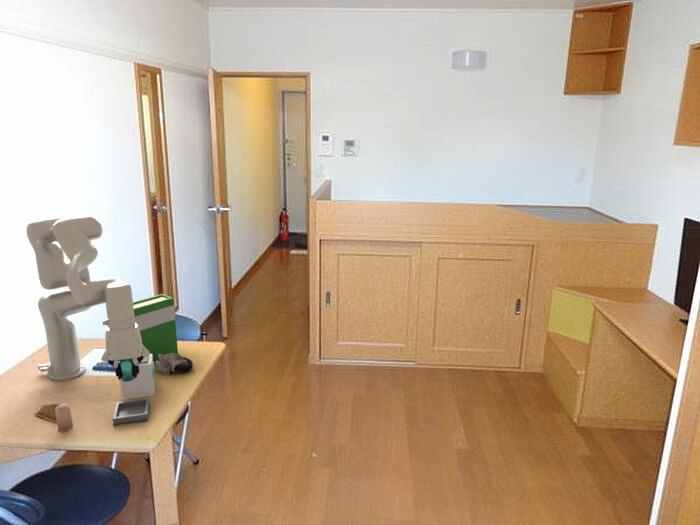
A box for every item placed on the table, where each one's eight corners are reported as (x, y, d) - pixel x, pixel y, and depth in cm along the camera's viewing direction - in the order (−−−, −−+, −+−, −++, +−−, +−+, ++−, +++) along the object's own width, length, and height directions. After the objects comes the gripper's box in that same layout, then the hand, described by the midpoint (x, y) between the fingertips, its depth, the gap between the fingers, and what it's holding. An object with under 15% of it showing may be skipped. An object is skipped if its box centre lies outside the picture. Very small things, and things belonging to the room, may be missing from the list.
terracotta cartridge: (56, 432, 159) (53, 410, 157) (59, 425, 162) (56, 403, 160) (71, 430, 160) (68, 408, 158) (74, 423, 164) (70, 401, 162)
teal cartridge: (122, 376, 166) (119, 354, 164) (135, 374, 167) (133, 353, 165) (120, 382, 162) (118, 360, 160) (134, 380, 163) (132, 358, 161)
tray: (113, 426, 162) (112, 418, 162) (117, 409, 172) (116, 402, 171) (147, 421, 165) (147, 414, 164) (149, 404, 174) (149, 398, 174)
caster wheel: (195, 374, 201) (176, 381, 192) (173, 362, 205) (154, 369, 196) (198, 358, 199) (180, 365, 190) (176, 346, 204) (157, 353, 194)
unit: (121, 399, 177) (117, 365, 174) (124, 388, 185) (120, 355, 181) (155, 395, 180) (151, 362, 177) (156, 384, 188) (153, 352, 184)
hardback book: (137, 369, 198) (130, 310, 192) (127, 363, 203) (120, 305, 196) (178, 353, 212) (173, 297, 205) (167, 348, 216) (162, 293, 210)
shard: (57, 424, 163) (56, 419, 163) (30, 428, 161) (29, 423, 161) (65, 406, 174) (64, 402, 173) (39, 410, 171) (38, 405, 171)
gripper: (89, 330, 154) (97, 386, 159) (150, 324, 159) (155, 378, 163) (93, 320, 161) (101, 374, 166) (151, 315, 165) (157, 368, 170)
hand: (128, 376), depth 164 cm, fingers closed on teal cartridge, 4 cm apart
